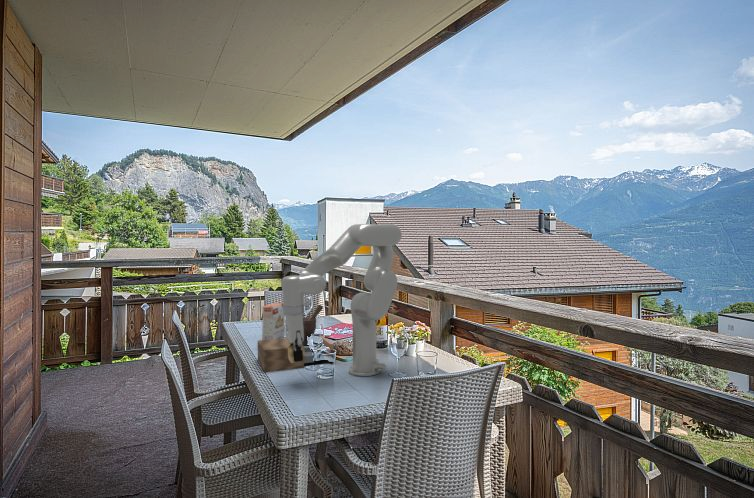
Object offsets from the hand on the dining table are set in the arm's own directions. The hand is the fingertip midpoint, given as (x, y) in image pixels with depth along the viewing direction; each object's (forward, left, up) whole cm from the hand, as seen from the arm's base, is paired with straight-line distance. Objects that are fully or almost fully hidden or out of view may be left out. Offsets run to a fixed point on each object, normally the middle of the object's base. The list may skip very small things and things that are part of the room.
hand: (296, 358), depth 157 cm
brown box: (+18, -21, -10) cm, 29 cm away
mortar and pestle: (+21, -56, -10) cm, 61 cm away
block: (0, 0, -1) cm, 1 cm away
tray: (+9, -29, -9) cm, 32 cm away
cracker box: (+36, -46, -10) cm, 59 cm away
